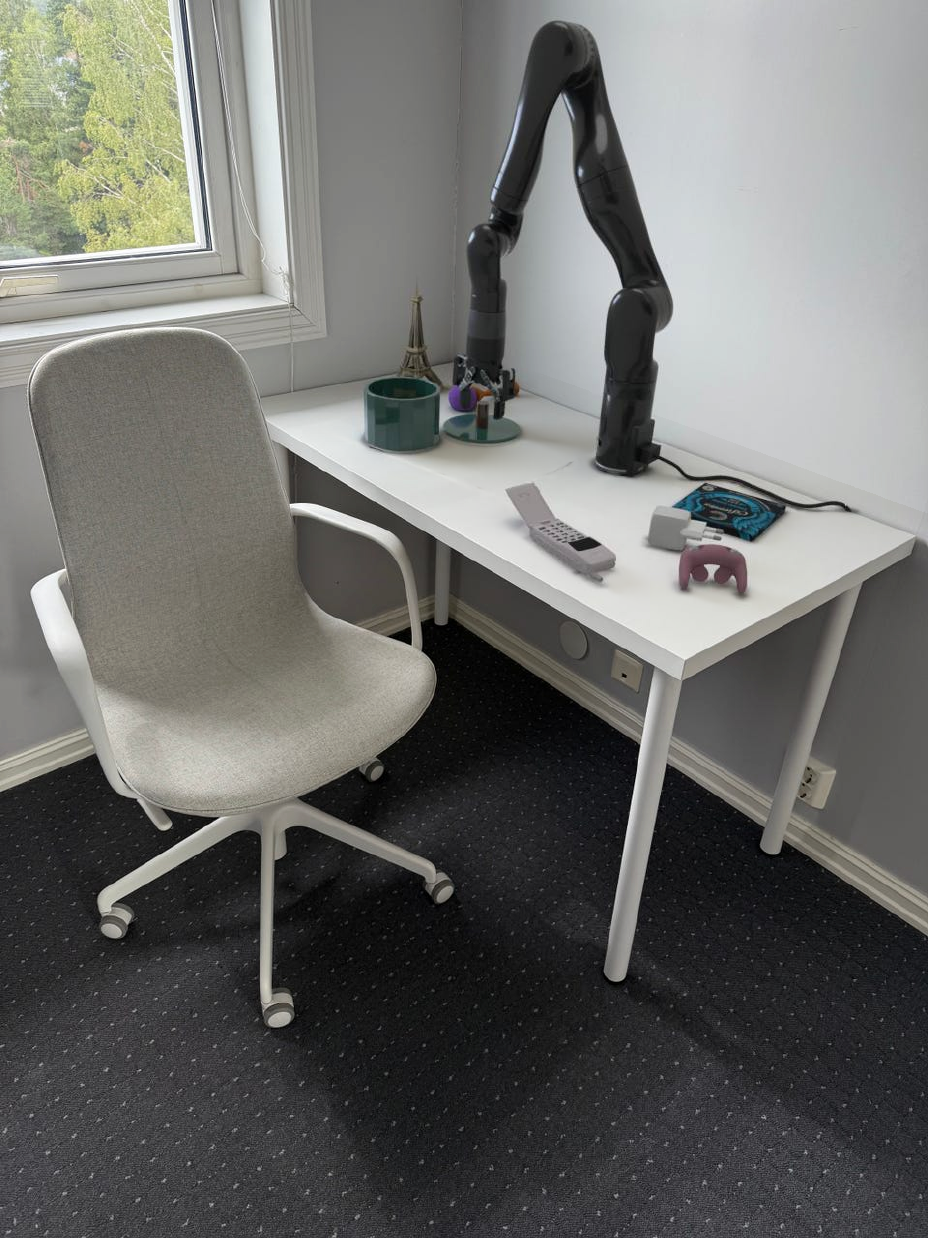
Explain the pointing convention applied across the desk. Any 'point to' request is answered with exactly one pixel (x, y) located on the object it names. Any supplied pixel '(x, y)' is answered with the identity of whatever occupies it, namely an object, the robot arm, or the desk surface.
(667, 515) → the power adapter
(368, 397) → the pot
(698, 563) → the video game controller
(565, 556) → the mobile phone
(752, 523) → the guitar string package
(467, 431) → the lid
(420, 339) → the eiffel tower
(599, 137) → the robot arm
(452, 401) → the kendama
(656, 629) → the desk surface
